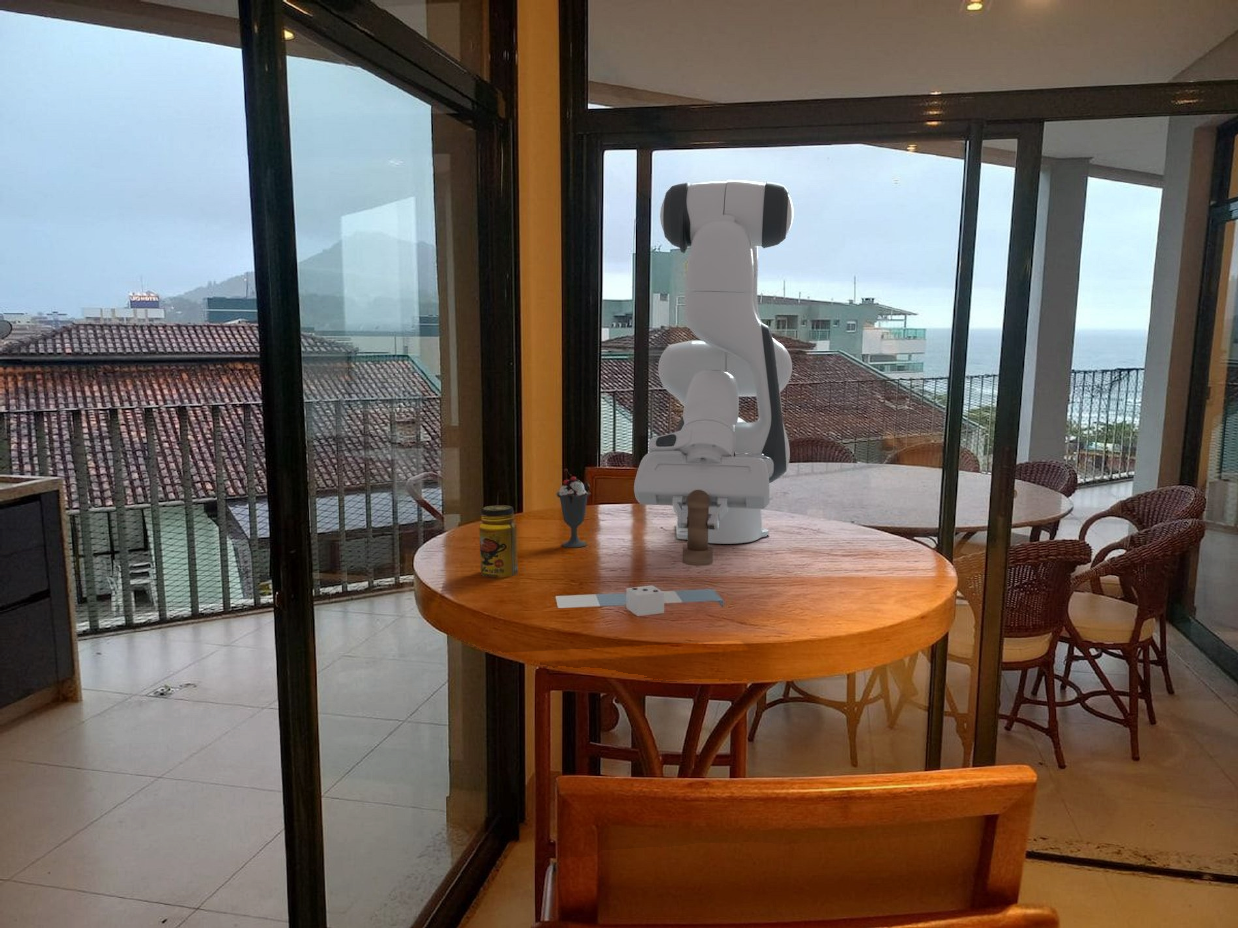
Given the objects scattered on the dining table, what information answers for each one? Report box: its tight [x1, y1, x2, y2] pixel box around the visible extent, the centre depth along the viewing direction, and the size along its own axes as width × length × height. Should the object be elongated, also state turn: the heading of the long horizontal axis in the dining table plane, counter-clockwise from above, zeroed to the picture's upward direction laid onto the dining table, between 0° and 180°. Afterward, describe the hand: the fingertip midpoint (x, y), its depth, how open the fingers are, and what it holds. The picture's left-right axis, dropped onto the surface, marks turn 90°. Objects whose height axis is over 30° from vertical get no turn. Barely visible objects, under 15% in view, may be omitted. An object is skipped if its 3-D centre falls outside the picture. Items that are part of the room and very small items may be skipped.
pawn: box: [681, 490, 714, 567], centre depth 125 cm, size 4×4×11 cm
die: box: [625, 584, 665, 617], centre depth 120 cm, size 4×4×4 cm
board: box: [555, 588, 724, 609], centre depth 126 cm, size 6×24×1 cm, turn 98°
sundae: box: [556, 468, 592, 549], centre depth 165 cm, size 7×7×15 cm
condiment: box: [478, 504, 519, 579], centre depth 142 cm, size 7×8×12 cm
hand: (697, 526), depth 125 cm, fingers closed on pawn, 3 cm apart
